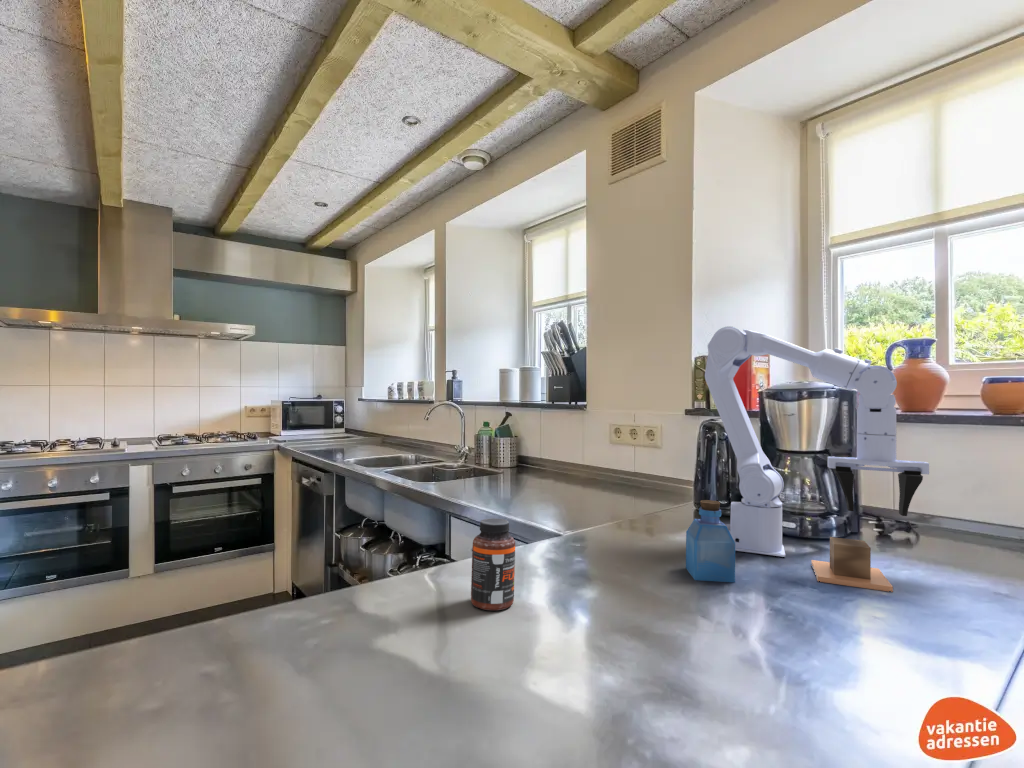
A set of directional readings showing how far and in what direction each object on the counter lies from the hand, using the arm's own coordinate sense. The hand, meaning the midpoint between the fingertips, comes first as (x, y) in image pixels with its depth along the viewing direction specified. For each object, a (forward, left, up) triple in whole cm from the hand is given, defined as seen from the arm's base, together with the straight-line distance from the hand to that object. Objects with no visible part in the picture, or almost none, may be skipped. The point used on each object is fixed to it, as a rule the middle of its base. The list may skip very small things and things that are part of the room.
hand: (876, 512), depth 92 cm
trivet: (-5, -7, -10) cm, 13 cm away
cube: (-5, -7, -9) cm, 13 cm away
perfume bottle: (-26, -17, -10) cm, 33 cm away
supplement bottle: (-52, -45, -10) cm, 70 cm away
